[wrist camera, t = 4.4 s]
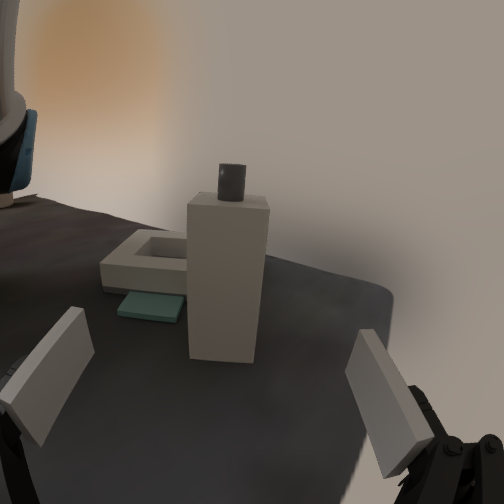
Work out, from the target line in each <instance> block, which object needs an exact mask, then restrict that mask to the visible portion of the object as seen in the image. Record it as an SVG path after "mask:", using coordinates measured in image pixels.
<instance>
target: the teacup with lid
mask: <svg viewBox="0 0 504 504" xmlns="http://www.w3.org/2000/svg"><path fill="white" fill-rule="evenodd" d="M12 204H13V192H11V193H10V194H7V193H6V194H0V208H5V207H8V206H11V205H12Z"/></svg>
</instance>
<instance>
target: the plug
mask: <svg viewBox="0 0 504 504" xmlns="http://www.w3.org/2000/svg"><path fill="white" fill-rule="evenodd" d="M245 175H246V165H240V164H219V179H218V193H210V192H199V193H198V194H197V196H195V197H194V198H193V199H192V200H191V201H190V202H189V203H188V204H187V313H188V338H189V357H190V359H198V360H209V361H222V362H237V363H253V362H254V353H255V345H256V336H257V327H258V318H259V309H260V300H261V291H262V281H263V272H264V263H265V253H266V243H267V233H268V223H269V213H270V209H269V206H268V204H267V201H266V199H265V197H264V196H255V195H244V189H245Z"/></svg>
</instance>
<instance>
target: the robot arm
mask: <svg viewBox="0 0 504 504" xmlns="http://www.w3.org/2000/svg"><path fill="white" fill-rule="evenodd" d="M19 2H20V0H0V194H6V193H7V194H10V193H11V192H13V191H17V190H22V189H24V188H26V187H27V186H28V185H29V183H30V180H31V173H32V161H33V150H34V139H35V131H36V122H37V112H36V111H35V110H31V109H27V110H26V104H25V100H24V98H23V96H22V95H21V94H19V93H18V92H16V91H14V51H15V35H16V24H17V16H18V9H19ZM94 353H95V352H94V348H93V345H92V341H91V337H90V333H89V329H88V325H87V321H86V317H85V312H84V309H83V308H78V307H72V306H71V307H70V308H69V310H68V311H67V312H66V313H65V314H64V315H63V316H62V317H61V318H60V319H59V321H58V322H57V323H56V324H55V325H54V326H53V327H52V328H51V330H50V331H49V332H48V333H47V334H46V335H45V337H44V338H43V339H42V340H41V341H40V342H39V344H38V345H37V346H36V347H35V348H34V350H33V351H32V352H31V353H30V354H29V355H26V354H25V355H24V356H22V357H20V358H19V359H17V360H16V362H15V363H14V364H13V365H12V366H11V369H9V370H8V371H7V373H6V375H4V377H3V378H2V379H1V380H0V504H40V502H39V500H38V497H37V494H36V491H35V489H34V486H33V482H32V479H31V476H30V473H29V469H28V466H27V462H26V458H25V454H24V450H23V446H22V442H21V440H20V438H19V437H20V435H21V433H22V435H23V436H24V437H25V438H26V440H27V441H28V442H30V443H32V444H34V445H36V446H38V447H40V448H41V447H42V445H43V443H44V441H45V439H46V437H47V435H48V433H49V431H50V429H51V428H52V426H53V424H54V422H55V420H56V418H57V416H58V414H59V413H60V411H61V409H62V407H63V405H64V403H65V402H66V400H67V398H68V396H69V395H70V393H71V391H72V389H73V388H74V386H75V384H76V382H77V381H78V379H79V377H80V376H81V374H82V372H83V371H84V369H85V367H86V366H87V364H88V362H89V361H90V359H91V358H92V356H93V354H94ZM345 374H346V376H347V379H348V382H349V384H350V387H351V389H352V392H353V395H354V397H355V400H356V403H357V405H358V408H359V411H360V413H361V416H362V419H363V421H364V424H365V427H366V430H367V432H368V435H369V438H370V441H371V443H372V446H373V449H374V452H375V455H376V458H377V461H378V464H379V467H380V470H381V473H382V476H383V479H385V478H389V477H393V476H397V475H400V474H401V473H402V472H403V471H404V470H405V469H406V468H408V471H409V474H408V475H407V476H406V477H405V478H404V479H403V480H402V481H401V482H400V483H399V485H398V486H401V485H402V484H403V483H404V484H403V486H402V488H401V490H400V492H399V494H398V496H397V499H396V501H395V503H394V504H504V449H503V444H502V441H501V440H500V439H499V438H498V437H497V436H495V435H492V434H487V435H485V436H483V437H482V438H481V440H480V441H479V442H478V443H463V442H462V441H461V440H460V439H459V438H457V437H454V436H448V434H447V433H446V431H445V429H444V428H443V426H442V424H441V422H440V420H439V419H438V417H437V415H436V413H435V412H434V410H432V407H431V405H430V403H428V400H427V398H426V396H425V394H424V393H423V392H422V391H421V390H420V389H419V388H418V387H416V386H415V385H413V386H407V384H406V383H405V381H404V379H403V378H402V376H401V374H400V372H399V371H398V369H397V367H396V366H395V364H394V362H393V360H392V359H391V357H390V356H389V354H388V352H387V350H386V349H385V347H384V346H383V344H382V342H381V341H380V339H379V337H378V336H377V334H376V333H375V331H374V329H359V332H358V335H357V338H356V341H355V344H354V347H353V350H352V353H351V356H350V359H349V362H348V365H347V367H346V370H345Z"/></svg>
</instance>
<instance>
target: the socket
mask: <svg viewBox="0 0 504 504" xmlns="http://www.w3.org/2000/svg"><path fill="white" fill-rule="evenodd" d="M99 264H100V272H101V279H102V286H103V292H106V293H114V294H122V295H127V296H126V298H125V299H124V301H123V302H122V303H121V305H120V306H119V308H118V309H117V315H118V316H124V317H131V318H139V319H146V320H154V321H163V322H172V323H176V322H177V319H178V317H179V314H180V311H181V308H182V306H183V303H184V301H187V232H175V231H158V230H141V229H139V230H137V231H136V232H135V233H134V234H133V235H131V236H130V237H129V238H128V239H127V240H125V241H124V242H123V243H122V244H121V245H120V246H118V247H117V248H116V249H115V250H114V251H113V252H111V253H110V254H109V255H108V256H107V257H106V258H105V259H104V260H102V261H101V262H100V263H99Z"/></svg>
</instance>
